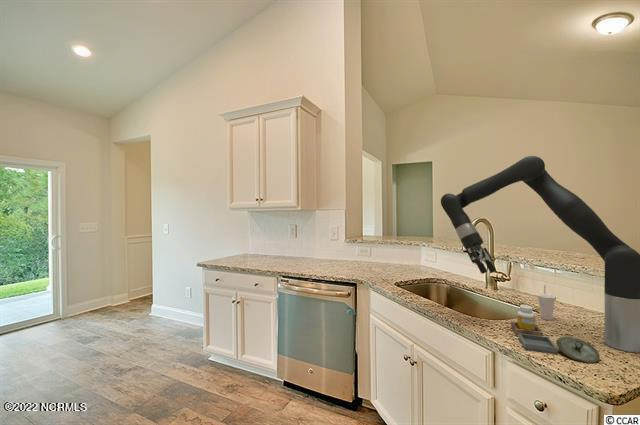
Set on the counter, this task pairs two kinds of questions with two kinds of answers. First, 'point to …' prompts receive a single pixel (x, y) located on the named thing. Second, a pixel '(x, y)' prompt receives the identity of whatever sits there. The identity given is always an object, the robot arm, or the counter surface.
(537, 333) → the collar block
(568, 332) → the counter surface
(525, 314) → the supplement bottle
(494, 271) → the robot arm
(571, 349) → the lid
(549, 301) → the smoothie
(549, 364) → the counter surface
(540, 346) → the tray
